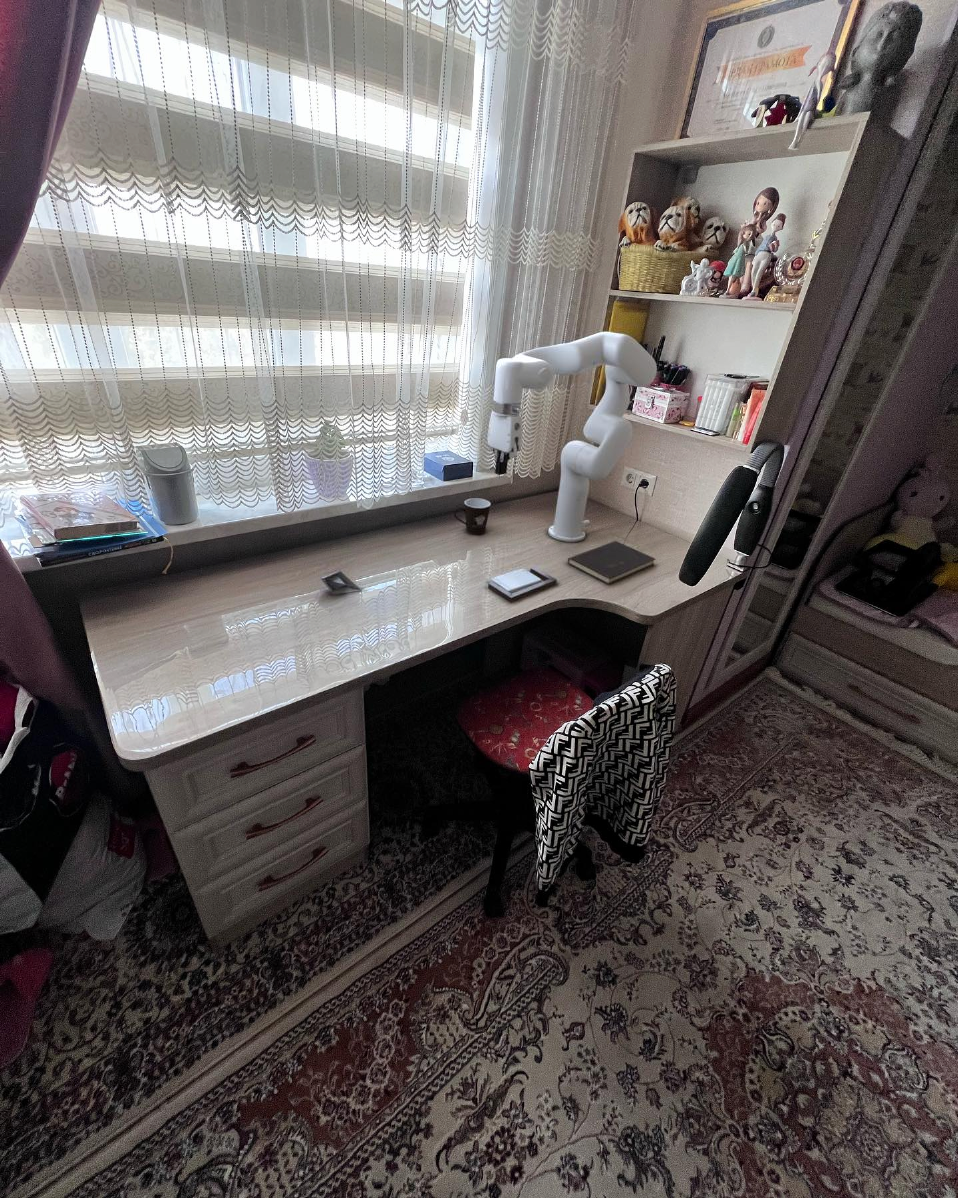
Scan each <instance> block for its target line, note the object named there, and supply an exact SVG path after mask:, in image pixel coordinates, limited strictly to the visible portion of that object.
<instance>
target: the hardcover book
mask: <svg viewBox="0 0 958 1198" xmlns="http://www.w3.org/2000/svg"><path fill="white" fill-rule="evenodd" d="M655 560H656V558H655V557H653V556H650V555H649V554H647V553H644V552H642V551H639V550H637V549H635V548H633V547H631V546H628V545H626V544H625V543H622V542H620V541H617V540H614V541H611V542H608V543H606V544H603V545H600V546H597V547H595V548H592V549H590V550H586V551H583V552H581V553H578V554H575V555H573V556H570V557H568V558H567V564H568V565H569V566H571V567H573V568H575V569H577V570H579V571H580V572H583V573H585V574H586V575H588V576H591V577H592V578H594V579H596V580H598V581H600V582H602V583H604V584H606V585H612V584H614V583H616V582H619V581H621V580H623V579H626V578H628V577H630V576H632V575H634V574H637V573H639V572H641V571H644V570H646V569H648V568H651V567H653V566H654V565H655V564H654V562H655Z"/></svg>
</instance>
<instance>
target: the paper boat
mask: <svg viewBox="0 0 958 1198" xmlns="http://www.w3.org/2000/svg"><path fill="white" fill-rule="evenodd" d="M320 580H321V582H323V584H324V585H325V586H326V587H327V589H328V590H329V591H330V593H331V594H332V595H339V594H346V593H352V592H360V591H362V589H361V588H360V587H359V586H358V585H356V583H354V582H353V581H352V580H351V579H350V578H349V577H348V576H347V575H346V574H345V573H343V572H342V570H339V571H336V572H332V573H330V574H327V575H324V576H323V577H322V576H321V577H320Z"/></svg>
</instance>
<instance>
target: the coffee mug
mask: <svg viewBox="0 0 958 1198" xmlns="http://www.w3.org/2000/svg"><path fill="white" fill-rule="evenodd" d="M491 504H492V503H491V501H489V500H487V499H484V498H478V497H477V498H476V497H475V498H468V499H466V500H464V507H456V509H454V511H453V516H454V518H455V519H456V520H457V521H459V522H461V524H464V525H465V529H466V533H468V534H470V535H473V536H481V535H484V534H485V533H486V530H487V529H486V528H487V524H488V521H489V520H488V519H489V516H490V510H491ZM459 510H461V511H463V513H464V515H465V521H464V520H462V519H460V518H458V517H457V515H456V514H457V511H459Z"/></svg>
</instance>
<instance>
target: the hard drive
mask: <svg viewBox="0 0 958 1198" xmlns="http://www.w3.org/2000/svg"><path fill="white" fill-rule="evenodd" d="M491 582H493V583H495V584H496V585H498V586H500V587H501V588H503V589H504V590H506V591H508V592H509V593H511V594H512V593H515V592H517V591H520V590H523V589H525V588H528V587H530V586H533V585H535V584H538V583H540V582H542V579H540V578H539V577H537V576H535V575H534V574H532V573H530V570H527V569H526V568H520V569H516V570H514V571H510V572H506V573H504V574H503V573H502V574H500V575H497V576H494V577H491V578H489V581H488V583H491Z"/></svg>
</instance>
